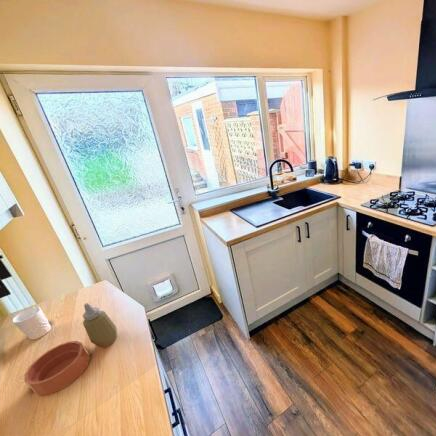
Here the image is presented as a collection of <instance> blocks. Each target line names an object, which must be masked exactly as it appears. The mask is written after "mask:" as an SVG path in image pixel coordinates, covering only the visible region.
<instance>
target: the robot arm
mask: <svg viewBox="0 0 436 436" xmlns="http://www.w3.org/2000/svg"><path fill="white" fill-rule="evenodd" d="M2 259H4V255H2V254H0V299H3V298H5V297H7V296H10V295H12V293H11V292H10V290H9V288H8V286H6V285H5V283H4V281H3V280H6V279H9V278H12V277H13V275H12V273H11V271H9V269H8V268H7V266H6V265H5V264H4V261H2Z"/></svg>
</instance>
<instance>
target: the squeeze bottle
mask: <svg viewBox="0 0 436 436" xmlns="http://www.w3.org/2000/svg"><path fill="white" fill-rule="evenodd" d="M83 308H84V313H83V314H82V318H83V321H82V325H83V327H84V329H85V332H86V334H87V336H88V338H89V341H90V343H92V344H93V345H94V346H97V347H98V348H106V347H108V346H110V345H112V344H113V343H114V342H115V341H116V340H117V338H118V329H117V325H116V324H115V323H114V322H113V321H112V319H111V318H110V317H109V315H108V314H107V313H106V311H104V310H100V308H99V307H96V306H94V307H93V306H92V305H91V304H90V303H89V302H86V303H84V304H83Z"/></svg>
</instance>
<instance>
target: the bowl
mask: <svg viewBox="0 0 436 436" xmlns="http://www.w3.org/2000/svg"><path fill="white" fill-rule="evenodd" d="M90 360H91V356H90V353H89V351H88V350H87V348H86V347H85V345H84V344H83V342H82V341H78V340H72V341H66V342H63V343H61V344H58V345H57V346H54V347H52V348H51V349H49V350H47V351H46V352H44V353H43V354H42V355H40V356H39V357H38V358H36V360H34V362H33V363H32V364H30V366H29V367H28V368H27V370H26V372H25V374H24V383H26V385H27V386H28V387H29V388H30V389H31V390H32V391H33V393H35V394H36V395H38V396H46V395H47V396H48V395H50V394H54V393H55V392H56V393H57V392H58V391H61V390H62V389H64V388H65V387H67V386H69V385H70V384H71V383H73V382H74V381H75V380H76V379H78V377H80V376H81V375H82V374H83V372H84V371H85V370H86V368H87V367H88V366H89V363H90Z"/></svg>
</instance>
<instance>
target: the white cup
mask: <svg viewBox="0 0 436 436" xmlns="http://www.w3.org/2000/svg"><path fill="white" fill-rule="evenodd" d="M12 323H13V324H14V325H15V326H16V327H17V328H18V329H19V331H20V332H22V333H23V334H24V335H25V336H26V337H27V338H28V339H29V340H37V339H40V338H41V337H43V336H45V335H46V334H48V333H49V332H50V331H51V330H52V326H51V324H50V322H49V320H48V319H47V316H46V315H45V313H44V311H43V310H42V308H41V307H40V306H33V307H29V308H27V309H25V310H23V311H21V312H19V313H18V314H16V315H15V316H14V317H13V319H12Z"/></svg>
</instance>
